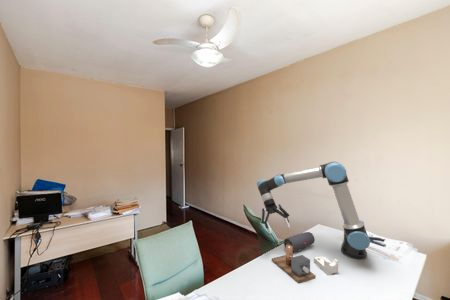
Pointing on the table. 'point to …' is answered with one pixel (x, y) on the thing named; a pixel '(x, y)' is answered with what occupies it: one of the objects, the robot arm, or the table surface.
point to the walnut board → (287, 268)
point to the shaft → (290, 254)
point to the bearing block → (299, 265)
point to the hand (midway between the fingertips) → (279, 230)
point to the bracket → (326, 265)
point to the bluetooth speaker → (300, 241)
